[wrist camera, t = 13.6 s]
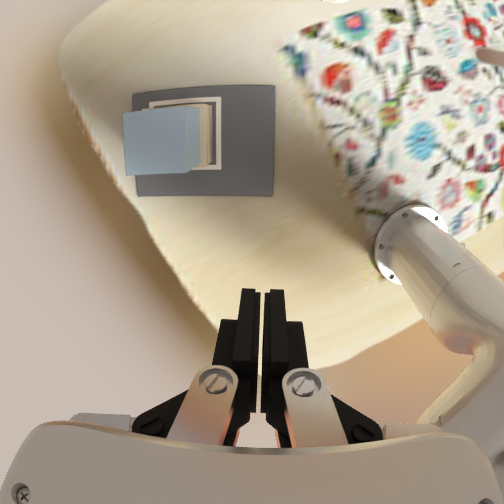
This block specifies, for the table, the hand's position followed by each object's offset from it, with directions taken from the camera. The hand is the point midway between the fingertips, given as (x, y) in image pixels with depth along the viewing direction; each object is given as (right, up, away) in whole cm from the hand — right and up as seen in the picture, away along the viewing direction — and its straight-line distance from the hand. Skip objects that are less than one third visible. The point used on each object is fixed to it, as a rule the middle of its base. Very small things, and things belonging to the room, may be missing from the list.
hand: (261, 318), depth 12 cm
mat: (-7, +16, +23) cm, 29 cm away
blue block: (-9, +15, +17) cm, 25 cm away
